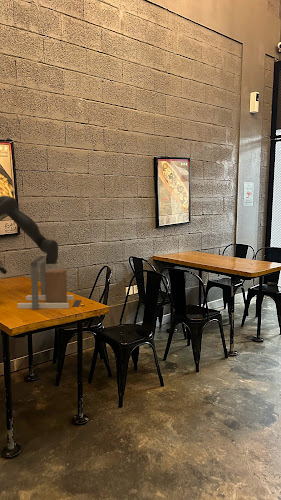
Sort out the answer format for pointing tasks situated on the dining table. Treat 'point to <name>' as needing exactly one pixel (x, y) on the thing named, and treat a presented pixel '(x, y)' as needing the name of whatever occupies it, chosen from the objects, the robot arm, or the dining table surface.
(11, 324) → the dining table surface
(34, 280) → the arch
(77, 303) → the pad
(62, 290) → the wooden block
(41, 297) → the walled lane
